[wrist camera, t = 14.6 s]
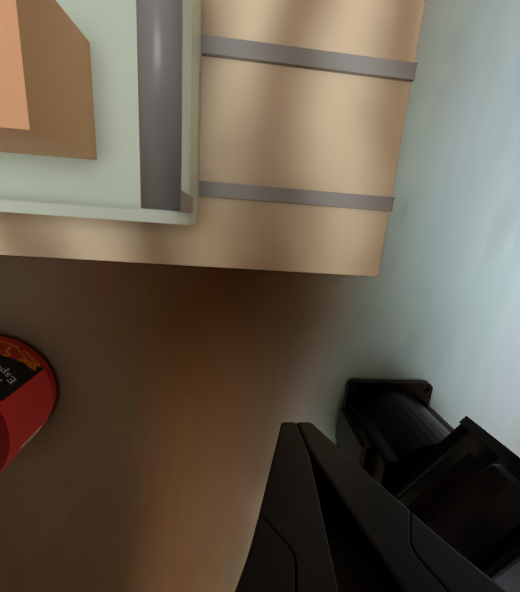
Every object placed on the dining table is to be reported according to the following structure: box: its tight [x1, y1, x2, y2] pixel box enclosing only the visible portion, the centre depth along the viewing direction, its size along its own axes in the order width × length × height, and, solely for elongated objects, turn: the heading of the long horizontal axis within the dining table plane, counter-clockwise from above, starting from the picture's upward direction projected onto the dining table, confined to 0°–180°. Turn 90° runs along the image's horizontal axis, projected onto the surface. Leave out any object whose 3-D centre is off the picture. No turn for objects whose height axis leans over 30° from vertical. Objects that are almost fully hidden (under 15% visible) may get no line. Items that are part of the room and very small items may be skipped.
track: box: [0, 0, 425, 277], centre depth 15 cm, size 27×16×4 cm, turn 86°
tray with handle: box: [0, 0, 203, 225], centre depth 11 cm, size 12×11×9 cm
